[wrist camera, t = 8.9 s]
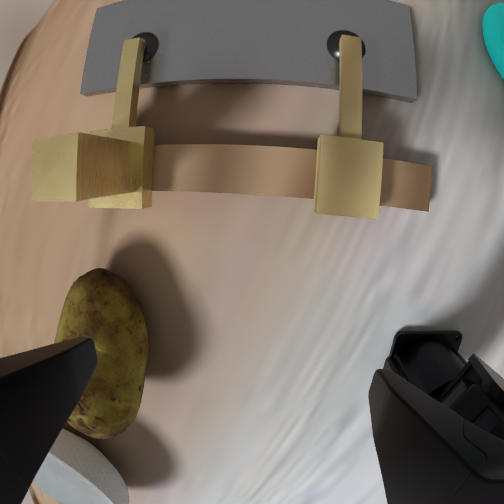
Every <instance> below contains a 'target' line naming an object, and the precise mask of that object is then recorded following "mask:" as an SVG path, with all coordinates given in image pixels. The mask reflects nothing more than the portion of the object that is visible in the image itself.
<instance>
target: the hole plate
mask: <svg viewBox="0 0 504 504" xmlns="http://www.w3.org/2000/svg"><path fill="white" fill-rule="evenodd" d="M342 35H348V36H354V37H360V38H361V46H362V93H365V94H371V95H377V96H382V97H387V98H393V99H397V100H402V101H407V102H411V103H412V102H414V101H416V100H417V79H416V63H415V51H414V41H413V32H412V24H411V17H410V10H409V6H407V5H404V4H400V3H396V2H392V1H388V0H126V1H122V2H118V3H115V4H111V5H107V6H104V7H100V8H97V11H96V15H95V19H94V23H93V27H92V31H91V35H90V40H89V45H88V50H87V55H86V60H85V66H84V72H83V78H82V85H81V92H80V94H82V95H85V96H92V95H97V94H103V93H110V92H116V90H117V82H118V75H119V68H120V61H121V55H122V49H123V43H124V40H128V39H133V38H139V37H140V38H143V39H144V40H145V41H146V42H147V47H146V49H145V50H144V56H143V63H142V71H141V78H140V87H139V88H148V87H158V86H169V85H183V84H204V83H263V84H284V85H298V86H310V87H320V88H329V89H337V90H340V50H339V40H340V38H341V36H342Z"/></svg>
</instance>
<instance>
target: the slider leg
mask: <svg viewBox="0 0 504 504" xmlns="http://www.w3.org/2000/svg"><path fill="white" fill-rule="evenodd" d="M146 47H147V42H146V41H145V40H144V39H143V38H140V37H139V38H133V39H128V40H124V43H123V49H122V55H121V61H120V68H119V75H118V82H117V90H116V98H115V108H114V118H113V129H105V130H96V131H91V134H85V133H79V132H78V133H71V134H65V135H58V136H52V137H46V138H41V139H35V140H33V151H32V202H39V201H80V200H86V199H89V208H130V209H143V208H147V207H151V206H152V171H153V149H154V133H155V129H153V128H150V127H147V126H138V127H136V117H137V106H138V96H139V87H140V78H141V71H142V63H143V56H144V50H145V49H146Z"/></svg>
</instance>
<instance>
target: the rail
mask: <svg viewBox="0 0 504 504" xmlns="http://www.w3.org/2000/svg"><path fill="white" fill-rule="evenodd" d="M339 50H340V95H339V131H338V136H330V135H321V136H320V137H319V138H318V144H317V150H314V149H303V148H290V147H275V146H257V145H229V144H166V145H154V149H153V171H152V191H190V192H217V193H237V194H255V195H271V196H285V197H298V198H311V199H314V206H313V211H314V212H315V213H316V214H327V215H338V216H349V217H359V218H369V219H378V214H379V205H381V206H389V207H397V208H405V209H413V210H420V211H427V212H429V202H430V192H431V179H432V166H428V165H423V164H417V163H412V162H406V161H400V160H394V159H387V158H383V142H376V141H369V140H362V139H361V138H362V46H361V38H360V37H354V36H348V35H342V36H341V38H340V40H339Z"/></svg>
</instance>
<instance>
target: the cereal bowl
mask: <svg viewBox="0 0 504 504" xmlns="http://www.w3.org/2000/svg"><path fill="white" fill-rule="evenodd" d="M33 482H34V483H35V484H36V485H37V486H38V487H39V488H40V489H42V490H43V491H44V492H45V493H46V494H48V495H49V496H50V497H52V498H53V499H54V500H56V501H57V502H59V503H60V504H129V493H128V489H127V486H126V484H125V482H124V480H123V478H122V477H121V475H120V474H119V472H118V471H117V469H116V468H115V467H114V466H113V465H112V464H111V463H110V462H109V461H108V460H107V458H106V457H105V456H104V455H103V454H102V453H101V452H100V451H99V450H98V449H97V448H96V447H95V446H94V445H92V444H91V443H90V442H88V441H87V440H85V439H83V438H81V437H79V436H77V435H75V434H73V433H71V432H69V431H67V430H65V429H62V430H61V432H60V434H59V436H58V437H57V439H56V441H55V442H54V444H53V446H52V448H51V449H50V451H49V453H48V455H47V456H46V458H45V460H44V462H43V463H42V465H41V467H40V469H39V471H38V472H37V474H36V476H35V478H34V480H33Z"/></svg>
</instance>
